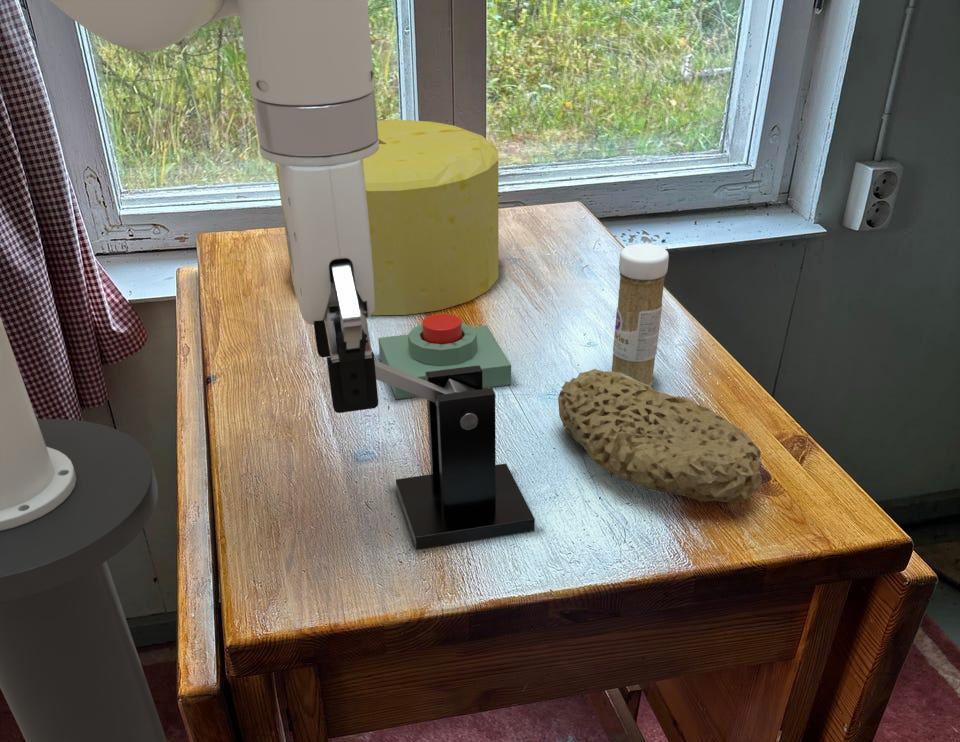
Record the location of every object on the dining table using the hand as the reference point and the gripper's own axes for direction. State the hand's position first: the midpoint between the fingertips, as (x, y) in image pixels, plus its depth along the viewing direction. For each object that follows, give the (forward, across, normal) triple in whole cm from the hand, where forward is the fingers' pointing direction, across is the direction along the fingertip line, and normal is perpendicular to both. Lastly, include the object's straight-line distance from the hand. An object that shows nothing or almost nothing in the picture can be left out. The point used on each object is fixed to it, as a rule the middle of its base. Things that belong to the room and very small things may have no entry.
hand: (346, 379), depth 72 cm
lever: (+2, 0, +4) cm, 4 cm away
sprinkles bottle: (+14, -18, +31) cm, 38 cm away
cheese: (+13, -54, +13) cm, 57 cm away
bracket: (+13, 0, +9) cm, 16 cm away
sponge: (+14, -2, +27) cm, 30 cm away
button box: (+13, -26, +13) cm, 32 cm away
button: (+10, -26, +13) cm, 30 cm away
